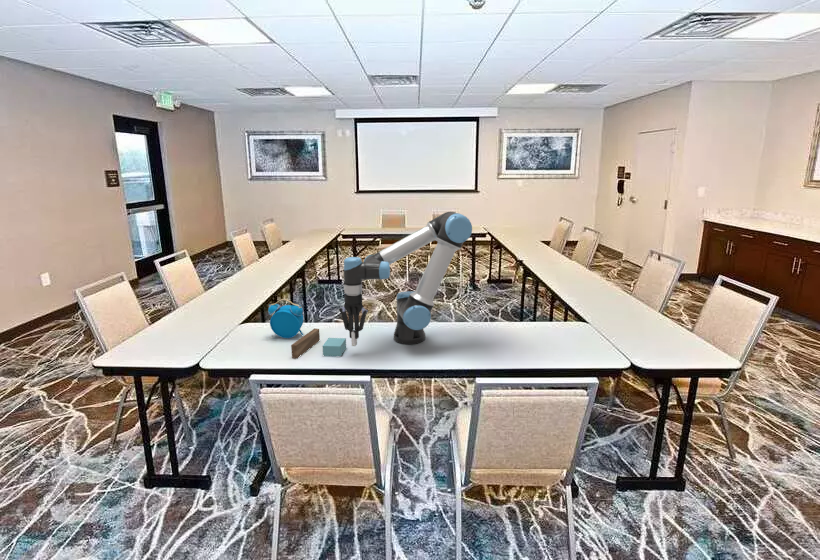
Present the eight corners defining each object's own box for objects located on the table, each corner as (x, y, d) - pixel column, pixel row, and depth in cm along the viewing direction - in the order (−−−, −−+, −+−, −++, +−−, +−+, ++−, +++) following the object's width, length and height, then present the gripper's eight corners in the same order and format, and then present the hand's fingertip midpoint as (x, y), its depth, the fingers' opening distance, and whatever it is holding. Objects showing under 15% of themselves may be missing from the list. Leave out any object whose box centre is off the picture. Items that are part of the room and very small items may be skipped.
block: (346, 348, 216) (345, 338, 215) (340, 357, 206) (340, 346, 205) (329, 348, 217) (328, 337, 215) (323, 356, 207) (322, 345, 206)
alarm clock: (308, 333, 234) (305, 295, 230) (301, 341, 224) (299, 301, 220) (275, 333, 236) (272, 294, 231) (267, 340, 226) (264, 300, 221)
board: (319, 340, 225) (319, 328, 223) (297, 358, 204) (296, 345, 203) (315, 340, 226) (314, 328, 224) (292, 358, 205) (291, 345, 204)
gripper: (370, 292, 204) (371, 343, 209) (342, 290, 207) (344, 340, 213) (364, 296, 197) (365, 349, 202) (335, 294, 200) (337, 346, 206)
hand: (354, 345), depth 208 cm, fingers closed
